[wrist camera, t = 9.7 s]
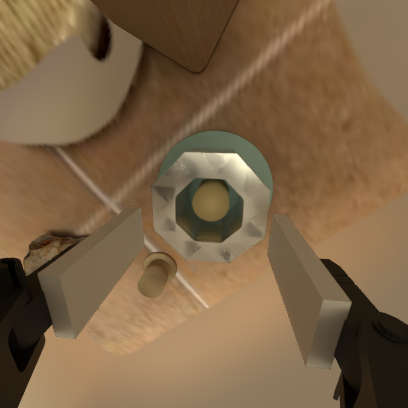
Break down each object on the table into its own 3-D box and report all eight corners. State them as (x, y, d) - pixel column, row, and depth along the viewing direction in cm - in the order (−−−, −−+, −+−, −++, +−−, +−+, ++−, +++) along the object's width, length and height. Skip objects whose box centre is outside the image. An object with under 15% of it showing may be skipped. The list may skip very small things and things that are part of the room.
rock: (48, 275, 30) (104, 299, 28) (1, 293, 25) (66, 325, 23) (58, 219, 30) (117, 239, 27) (12, 225, 24) (81, 251, 22)
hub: (143, 190, 24) (117, 206, 19) (210, 104, 20) (204, 93, 15) (217, 252, 26) (215, 285, 20) (292, 184, 22) (315, 200, 16)
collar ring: (173, 227, 23) (155, 257, 17) (170, 146, 20) (148, 150, 15) (252, 232, 22) (261, 265, 17) (261, 148, 19) (275, 154, 14)
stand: (138, 266, 28) (124, 286, 24) (157, 245, 26) (146, 264, 23) (163, 285, 28) (154, 308, 25) (183, 266, 27) (176, 287, 23)
